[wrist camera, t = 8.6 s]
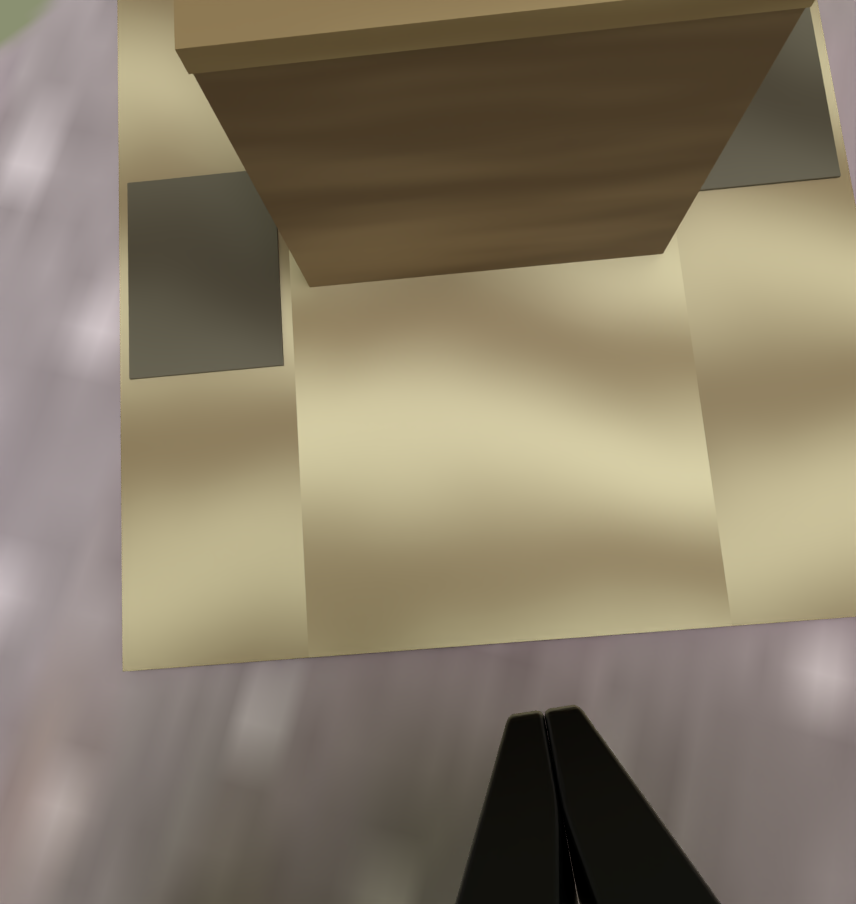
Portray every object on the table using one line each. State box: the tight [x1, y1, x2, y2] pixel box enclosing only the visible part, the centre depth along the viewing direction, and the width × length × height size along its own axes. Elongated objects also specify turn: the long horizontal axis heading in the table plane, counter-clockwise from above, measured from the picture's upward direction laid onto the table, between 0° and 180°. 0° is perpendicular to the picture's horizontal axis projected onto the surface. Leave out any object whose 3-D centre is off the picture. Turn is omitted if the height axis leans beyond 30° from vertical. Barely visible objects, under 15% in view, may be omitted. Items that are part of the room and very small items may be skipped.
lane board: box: [117, 0, 856, 671], centre depth 21 cm, size 26×21×4 cm
